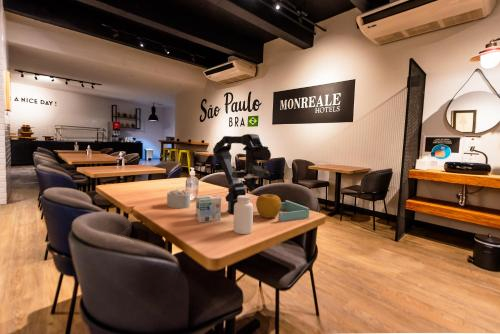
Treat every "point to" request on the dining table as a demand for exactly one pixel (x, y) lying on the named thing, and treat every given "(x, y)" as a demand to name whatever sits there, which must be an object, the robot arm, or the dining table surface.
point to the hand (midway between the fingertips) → (250, 191)
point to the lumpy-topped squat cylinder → (178, 199)
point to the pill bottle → (243, 215)
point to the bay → (292, 211)
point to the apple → (268, 205)
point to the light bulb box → (208, 208)
